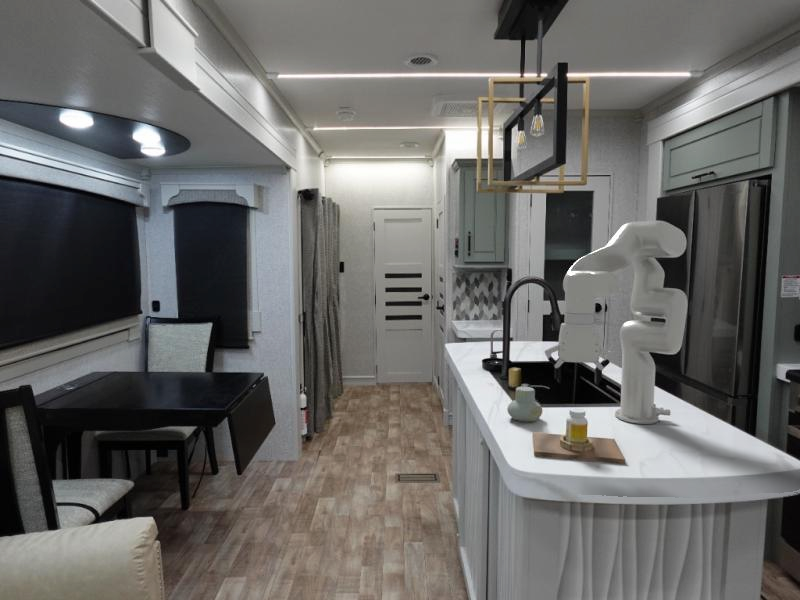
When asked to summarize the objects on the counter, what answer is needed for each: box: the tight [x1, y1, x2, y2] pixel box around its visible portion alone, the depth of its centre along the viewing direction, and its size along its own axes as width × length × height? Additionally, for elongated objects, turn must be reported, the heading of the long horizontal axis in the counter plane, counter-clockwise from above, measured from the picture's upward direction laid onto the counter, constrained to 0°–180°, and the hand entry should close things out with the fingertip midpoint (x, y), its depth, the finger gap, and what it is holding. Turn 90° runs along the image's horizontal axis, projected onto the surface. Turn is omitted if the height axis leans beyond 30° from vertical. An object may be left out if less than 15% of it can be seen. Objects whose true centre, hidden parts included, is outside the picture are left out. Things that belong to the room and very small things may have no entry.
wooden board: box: [532, 432, 626, 465], centre depth 131 cm, size 22×14×3 cm, turn 76°
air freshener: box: [506, 386, 543, 423], centre depth 155 cm, size 11×8×10 cm
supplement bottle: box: [565, 407, 589, 444], centre depth 130 cm, size 5×5×10 cm
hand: (577, 382), depth 129 cm, fingers open, 9 cm apart
